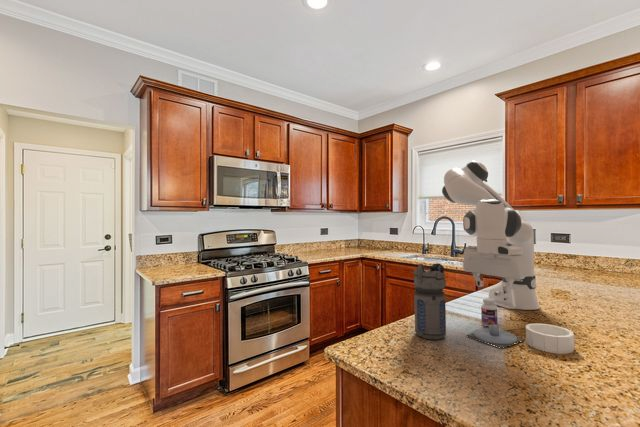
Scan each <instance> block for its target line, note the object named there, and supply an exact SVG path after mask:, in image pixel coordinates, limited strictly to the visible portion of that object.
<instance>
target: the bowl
mask: <svg viewBox="0 0 640 427" xmlns="http://www.w3.org/2000/svg"><path fill="white" fill-rule="evenodd" d="M525 339H526V340H525V342H527V343H526V344H527V345H528V344H529V345H530V346H529V345H528V346H529V347H531V348H532V349H535V350H538V351H541V350H542V351H541V352H544V351H545V352H546V353H549V354H555V355H569V354H572V353H574V351H575V334H574V332H573V330H570V329H568V328H566V327H562V326H559V325H555V324H548V323H539V322H538V323H534V322H533V323H527V324H526V325H525ZM545 352H544V353H545Z"/></svg>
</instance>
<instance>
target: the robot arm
mask: <svg viewBox="0 0 640 427" xmlns="http://www.w3.org/2000/svg"><path fill="white" fill-rule="evenodd" d="M488 177H489V172H488V169H487V167H486V166H485V164H483V163H482V162H479V161H477V160H472V161H470V162H468V163H466V165H464V166H463V167H462V168H457V167H454V168H451V169H449V170H447V171H446V172H445V174H444V176H443V184H444V185H443V186H442V190H441V192H442V195H443V197H444V198H445V199H446V200H447V201H449V202H450V203H453V204H458V205H464V206H474V207H475V208H473V209H472V210H469V211H467V212H466V213H465V214H464V216H463V220H462V222H463V224H462V225H463V230H464V232H466V233H467V234H468V235H469V236H473V237H476V246H475V245H474V246H473V245H467V246H466V247H465V248H463V249H464V250H463V254H464V255H463V265H462V268H463V270H464V272H468V273H472V277H473V279H474V280H475V284H476V285H475V286H477V287H484V280H481V277H480V276H481V275H487V276H492V277H499V278H502V279H501V281H499V282H498V283H496V284H495V285H493V286H491V287H490V288H489V290H488V296H485V297H484V298H491V299H494V300H495V305H496V306H497V307H498V306H499V307H501V308H505V309H509V310H523V311H524V310H528V311H531V310H534V311H535V310H539V309H540V308H541V307H540V305H539V302H538V301H539V300H538V296H537V291H536V287H537V284H536V283H537V282H536V275H535V259H534V258H535V257H534V256H535V253H534V252H535V231H534V228H533V227H532V225H531V224H530V223H529V222H527V220H525V219H524V218H523V216H521V215H520V214H519V213H518V212H517V211H516V210H515V209H514V208H513V207H512V205H510V204H509V203H508V202H507V200H505V199H504V198H503V197H502V196H501V195H500V194H499V193H498V192H497V191H496V190H495V189H493V188H492V187H491V186H490V185H488V184H487V183H488Z"/></svg>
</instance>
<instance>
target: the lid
mask: <svg viewBox="0 0 640 427" xmlns="http://www.w3.org/2000/svg"><path fill="white" fill-rule="evenodd" d="M473 333H474V336H475V337H476V338H478V339H479V340H482V341H485V342H488V343H493V344H502V345H508V344H514V343H516V342H517V338H518V337H517V336H516V335H515V334H514V333H511V332H509V331H507V330H502V329H500V325H499V324H498V325H495V324H490V327H484V328H483V327H480V328H476V329H474V330H473Z"/></svg>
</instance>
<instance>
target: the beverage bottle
mask: <svg viewBox="0 0 640 427" xmlns="http://www.w3.org/2000/svg"><path fill="white" fill-rule="evenodd" d="M444 269H445V268H444V266H443V265H442V264H441V263H437V262H436V263H433V264H432V265H428V266H427V269H424V264H421V263H418V266H417V268H414V271H413V273H414V274H413V287H415V291H414V294H413V295H414V296H413V297H414V298H413V300H414V302H413V303H414V332H415V333H416V335H417V336H419V337H421V338H422V339H426V340H432V341H433V340H434V341H435V340H441V339H444V338H445V337H446V334H447V318H446V317H447V316H446V315H447V314H446V313H447V312H446V311H447V310H446V307H447V306H446V293H445V292H444V289H445V288H446V285H447V282H446V281H447V280H446V278H445V273H444Z"/></svg>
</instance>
